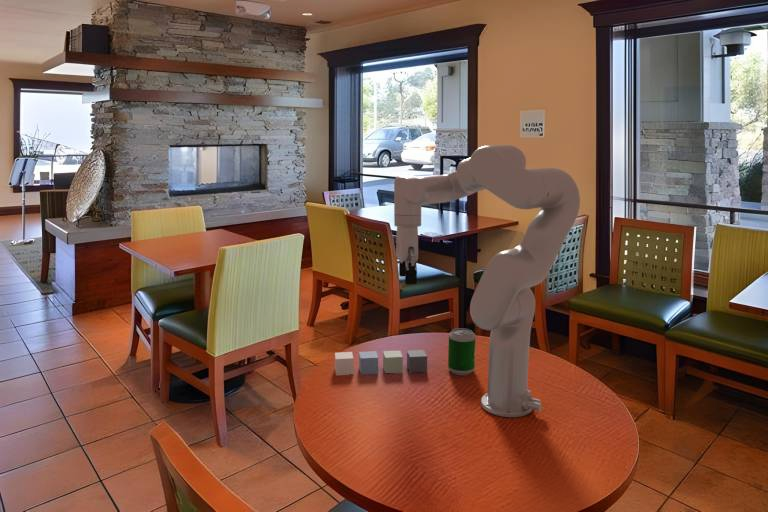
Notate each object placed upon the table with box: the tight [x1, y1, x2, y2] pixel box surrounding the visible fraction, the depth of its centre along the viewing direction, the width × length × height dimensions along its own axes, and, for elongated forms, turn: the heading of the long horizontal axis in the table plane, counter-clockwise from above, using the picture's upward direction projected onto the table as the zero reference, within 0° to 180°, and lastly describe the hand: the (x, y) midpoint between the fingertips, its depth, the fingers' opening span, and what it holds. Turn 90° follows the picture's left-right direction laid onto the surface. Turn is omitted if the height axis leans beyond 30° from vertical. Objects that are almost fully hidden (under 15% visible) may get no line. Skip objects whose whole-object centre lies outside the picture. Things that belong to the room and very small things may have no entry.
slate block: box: [358, 350, 379, 375], centre depth 163 cm, size 5×5×5 cm
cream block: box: [334, 351, 354, 376], centre depth 162 cm, size 5×5×5 cm
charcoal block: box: [406, 349, 428, 373], centre depth 164 cm, size 5×5×5 cm
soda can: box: [447, 327, 477, 376], centre depth 161 cm, size 8×8×12 cm
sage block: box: [382, 350, 404, 374], centre depth 163 cm, size 5×5×5 cm
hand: (407, 279), depth 161 cm, fingers open, 9 cm apart
